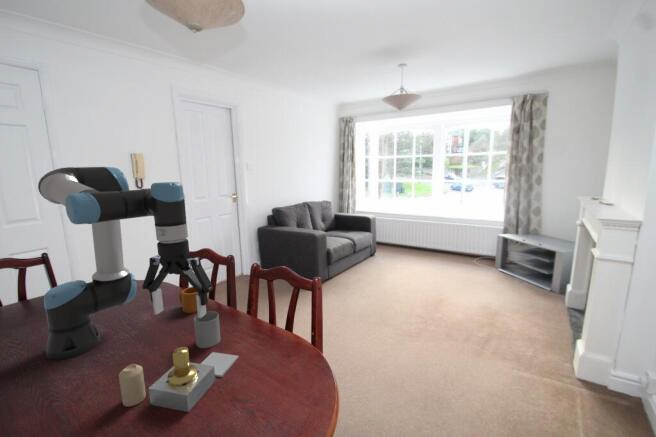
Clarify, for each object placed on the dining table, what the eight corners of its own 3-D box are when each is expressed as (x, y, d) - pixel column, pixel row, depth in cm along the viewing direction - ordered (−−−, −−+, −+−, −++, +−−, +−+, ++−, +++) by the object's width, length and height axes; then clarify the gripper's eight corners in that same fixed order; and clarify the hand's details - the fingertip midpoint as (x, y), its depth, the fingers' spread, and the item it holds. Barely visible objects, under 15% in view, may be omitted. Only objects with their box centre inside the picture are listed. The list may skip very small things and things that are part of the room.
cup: (211, 349, 107) (209, 323, 105) (191, 346, 109) (188, 321, 107) (224, 336, 115) (222, 312, 114) (205, 334, 117) (203, 310, 115)
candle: (129, 392, 87) (125, 361, 85) (149, 391, 87) (145, 360, 85) (118, 407, 81) (113, 374, 80) (139, 406, 82) (135, 372, 80)
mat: (193, 372, 95) (193, 370, 95) (212, 353, 104) (212, 352, 104) (222, 377, 93) (221, 375, 92) (238, 357, 102) (238, 355, 102)
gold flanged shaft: (163, 398, 84) (158, 357, 82) (182, 380, 91) (178, 341, 89) (186, 403, 82) (182, 361, 80) (204, 384, 89) (200, 344, 87)
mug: (191, 301, 146) (190, 283, 145) (207, 307, 140) (206, 288, 139) (174, 308, 139) (172, 289, 137) (190, 314, 133) (189, 295, 131)
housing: (150, 404, 82) (148, 388, 81) (181, 375, 94) (179, 360, 93) (188, 412, 79) (186, 395, 79) (215, 381, 91) (214, 366, 90)
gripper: (121, 242, 79) (131, 317, 83) (206, 244, 75) (213, 324, 78) (143, 235, 87) (151, 305, 90) (222, 238, 82) (228, 310, 86)
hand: (180, 314), depth 84 cm, fingers open, 13 cm apart
